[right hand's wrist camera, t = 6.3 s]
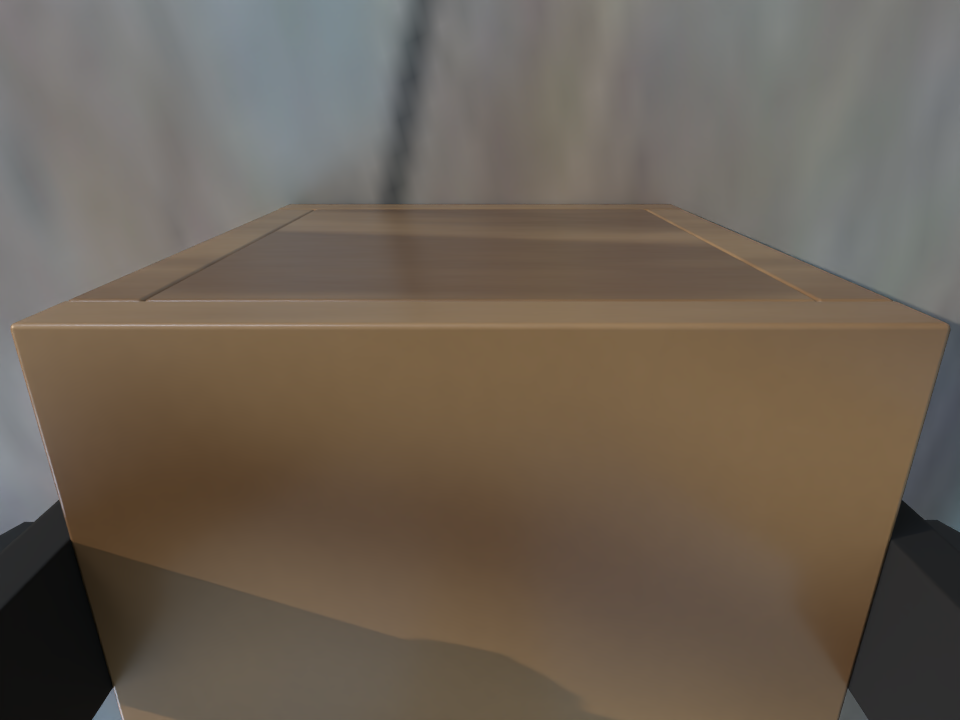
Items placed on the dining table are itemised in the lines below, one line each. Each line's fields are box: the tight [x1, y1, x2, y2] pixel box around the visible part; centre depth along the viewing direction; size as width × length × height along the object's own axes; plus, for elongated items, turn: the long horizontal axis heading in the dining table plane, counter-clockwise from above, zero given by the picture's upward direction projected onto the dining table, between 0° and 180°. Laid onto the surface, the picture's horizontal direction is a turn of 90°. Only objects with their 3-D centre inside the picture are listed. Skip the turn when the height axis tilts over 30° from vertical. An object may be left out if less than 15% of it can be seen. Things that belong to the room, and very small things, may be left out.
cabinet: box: [11, 204, 950, 720], centre depth 16 cm, size 21×11×11 cm, turn 0°
